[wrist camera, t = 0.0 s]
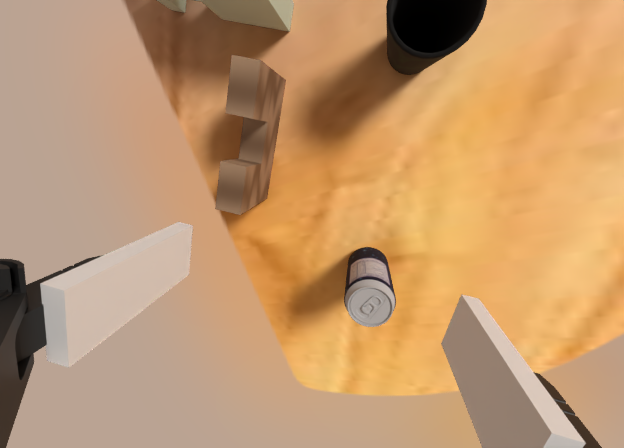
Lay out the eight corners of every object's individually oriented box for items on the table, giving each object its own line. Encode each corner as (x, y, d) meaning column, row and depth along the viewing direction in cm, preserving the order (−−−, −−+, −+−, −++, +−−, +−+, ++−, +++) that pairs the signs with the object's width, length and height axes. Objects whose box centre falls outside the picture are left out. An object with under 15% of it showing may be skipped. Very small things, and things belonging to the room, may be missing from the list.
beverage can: (340, 263, 44) (332, 307, 32) (366, 237, 42) (368, 273, 31) (368, 287, 44) (371, 339, 33) (395, 262, 42) (408, 307, 31)
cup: (382, 90, 37) (392, 68, 25) (373, 22, 35) (380, -35, 23) (448, 75, 35) (490, 43, 24) (442, 2, 33) (485, -70, 22)
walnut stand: (263, 75, 38) (231, 54, 29) (285, 80, 38) (260, 60, 29) (247, 193, 43) (215, 208, 34) (266, 198, 43) (240, 214, 33)
